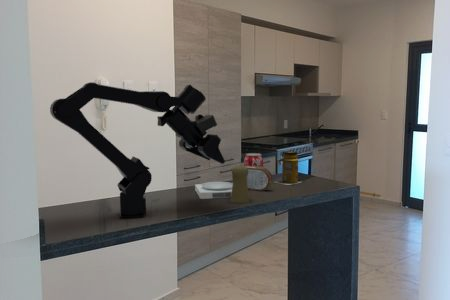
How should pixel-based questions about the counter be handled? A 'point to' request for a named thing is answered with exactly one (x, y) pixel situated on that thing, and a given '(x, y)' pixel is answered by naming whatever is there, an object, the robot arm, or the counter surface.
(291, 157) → the condiment
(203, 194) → the scale
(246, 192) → the cork
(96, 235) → the counter surface
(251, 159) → the soda can
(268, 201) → the counter surface
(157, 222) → the counter surface
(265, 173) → the tin
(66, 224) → the counter surface
